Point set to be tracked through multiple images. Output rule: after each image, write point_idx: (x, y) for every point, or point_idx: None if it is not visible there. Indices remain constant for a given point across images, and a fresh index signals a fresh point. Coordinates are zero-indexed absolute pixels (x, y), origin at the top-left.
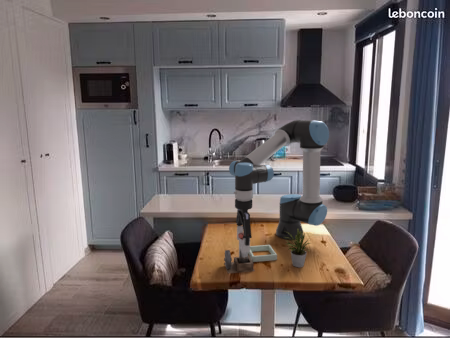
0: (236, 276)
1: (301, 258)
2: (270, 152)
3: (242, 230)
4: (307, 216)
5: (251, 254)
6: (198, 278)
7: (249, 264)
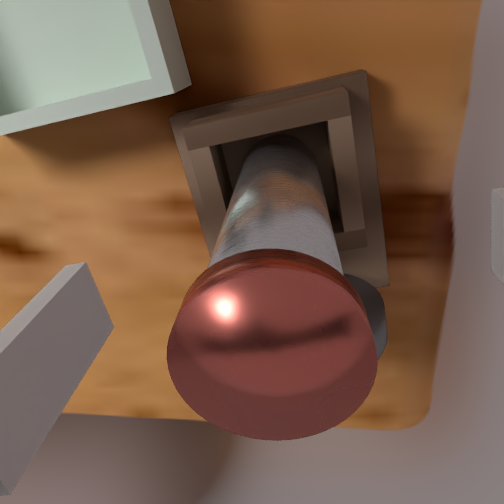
0: (385, 216)
1: None
2: None
3: (14, 353)
4: None
5: (122, 105)
6: (389, 419)
7: (352, 132)
